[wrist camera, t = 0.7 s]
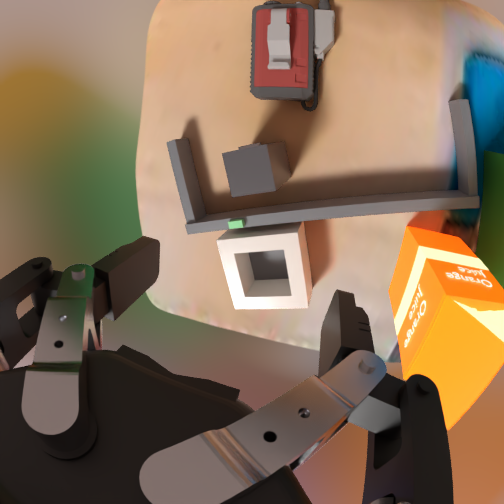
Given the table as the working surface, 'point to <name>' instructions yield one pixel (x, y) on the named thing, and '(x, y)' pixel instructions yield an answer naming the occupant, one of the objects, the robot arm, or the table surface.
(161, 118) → the table surface
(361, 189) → the table surface
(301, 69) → the walkie-talkie
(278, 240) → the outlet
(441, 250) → the orange juice
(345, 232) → the table surface
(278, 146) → the plug
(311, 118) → the table surface
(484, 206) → the hardback book
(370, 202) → the cradle
